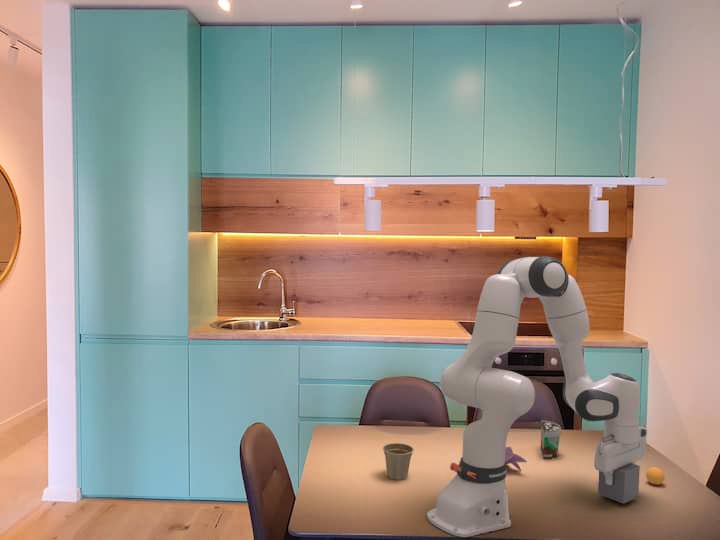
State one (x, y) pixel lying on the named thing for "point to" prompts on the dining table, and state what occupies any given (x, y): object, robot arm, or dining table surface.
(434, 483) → the dining table surface
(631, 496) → the gray rectangular box
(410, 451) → the flower pot
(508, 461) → the lily
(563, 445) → the dining table surface
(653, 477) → the ball
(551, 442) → the food container
